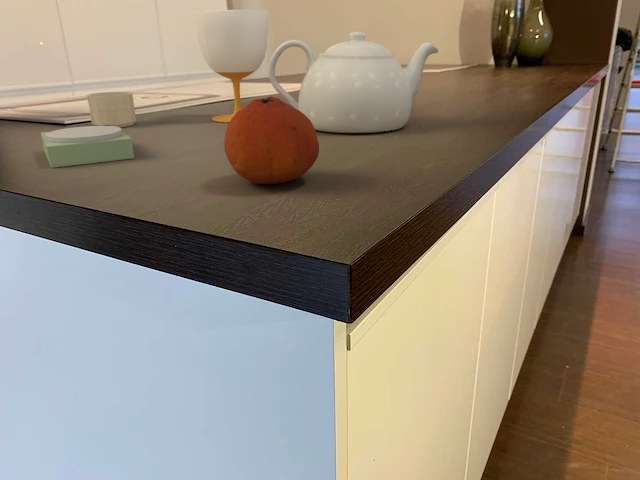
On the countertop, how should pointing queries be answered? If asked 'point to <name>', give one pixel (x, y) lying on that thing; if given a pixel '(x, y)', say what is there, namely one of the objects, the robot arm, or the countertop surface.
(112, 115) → the bowl
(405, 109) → the teapot
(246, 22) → the cup
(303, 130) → the fruit
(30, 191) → the countertop surface
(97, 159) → the scale
